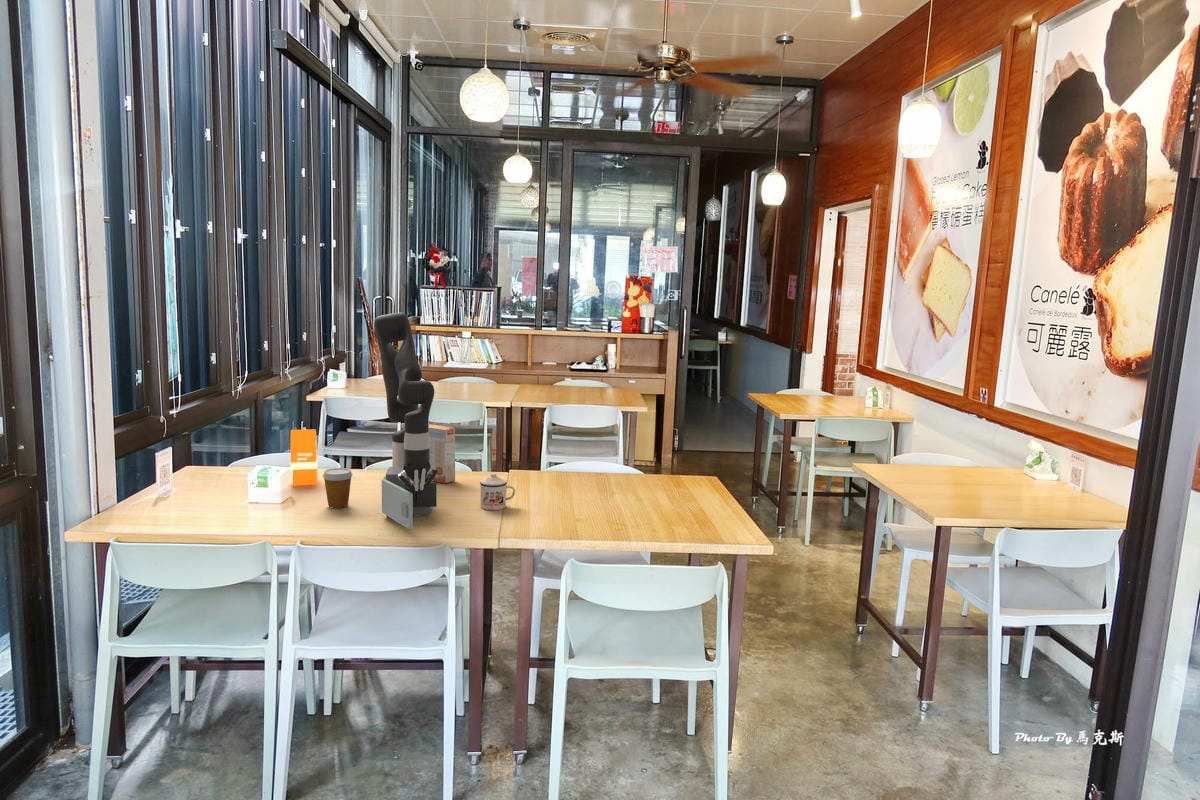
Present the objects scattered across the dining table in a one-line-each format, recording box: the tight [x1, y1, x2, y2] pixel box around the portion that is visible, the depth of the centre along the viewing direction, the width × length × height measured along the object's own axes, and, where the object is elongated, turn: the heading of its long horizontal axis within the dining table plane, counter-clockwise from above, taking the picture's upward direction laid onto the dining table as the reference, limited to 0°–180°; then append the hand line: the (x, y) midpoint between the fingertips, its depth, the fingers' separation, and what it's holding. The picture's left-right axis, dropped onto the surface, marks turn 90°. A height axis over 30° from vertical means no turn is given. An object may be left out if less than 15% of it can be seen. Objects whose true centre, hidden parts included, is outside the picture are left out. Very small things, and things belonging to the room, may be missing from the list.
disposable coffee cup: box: [322, 467, 353, 509], centre depth 263 cm, size 10×10×12 cm
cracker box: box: [429, 423, 456, 484], centre depth 299 cm, size 14×6×21 cm, turn 58°
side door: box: [381, 478, 414, 530], centre depth 244 cm, size 2×20×11 cm, turn 39°
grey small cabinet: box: [383, 466, 438, 517], centre depth 259 cm, size 10×17×15 cm, turn 99°
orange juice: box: [290, 428, 319, 487], centre depth 290 cm, size 8×9×20 cm
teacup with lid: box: [479, 472, 516, 511], centre depth 268 cm, size 12×9×12 cm
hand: (417, 501), depth 240 cm, fingers closed
